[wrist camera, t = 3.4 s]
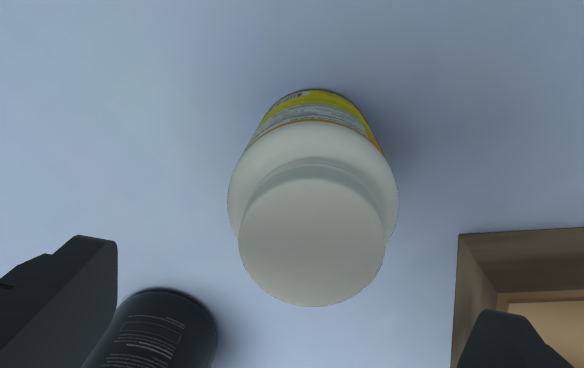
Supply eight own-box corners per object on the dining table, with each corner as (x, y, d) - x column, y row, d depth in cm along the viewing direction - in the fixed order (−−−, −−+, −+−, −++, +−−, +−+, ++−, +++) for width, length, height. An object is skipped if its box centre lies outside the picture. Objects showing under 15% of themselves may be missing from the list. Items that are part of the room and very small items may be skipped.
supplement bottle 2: (345, 205, 21) (367, 354, 12) (246, 172, 21) (186, 298, 11) (387, 107, 19) (457, 191, 9) (278, 68, 19) (237, 116, 9)
